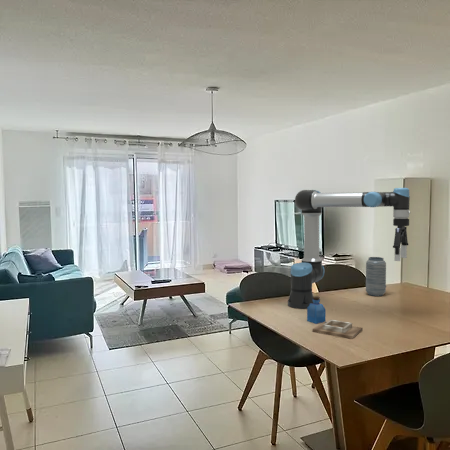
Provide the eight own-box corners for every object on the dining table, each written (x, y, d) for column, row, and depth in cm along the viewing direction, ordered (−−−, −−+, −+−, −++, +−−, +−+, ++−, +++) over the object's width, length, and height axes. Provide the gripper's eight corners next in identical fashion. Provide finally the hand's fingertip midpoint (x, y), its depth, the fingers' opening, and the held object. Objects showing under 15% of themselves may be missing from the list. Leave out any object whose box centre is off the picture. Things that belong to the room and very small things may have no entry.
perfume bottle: (315, 323, 198) (315, 299, 197) (307, 320, 204) (307, 296, 203) (325, 322, 201) (325, 297, 200) (317, 318, 206) (317, 295, 206)
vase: (388, 296, 251) (389, 259, 250) (369, 296, 251) (369, 259, 250) (381, 292, 263) (382, 256, 261) (363, 292, 263) (363, 256, 262)
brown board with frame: (312, 331, 186) (312, 324, 186) (324, 323, 198) (324, 317, 198) (352, 339, 176) (352, 331, 176) (362, 330, 187) (362, 323, 187)
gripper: (403, 219, 200) (402, 263, 201) (414, 217, 220) (413, 257, 221) (387, 219, 204) (386, 261, 206) (399, 217, 225) (398, 256, 226)
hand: (400, 259), depth 214 cm, fingers open, 13 cm apart
